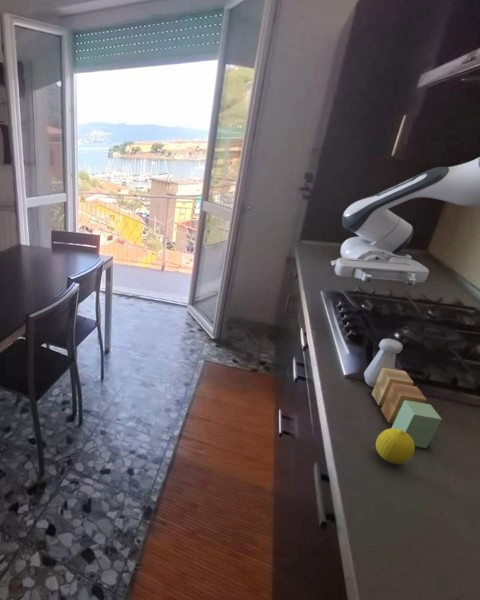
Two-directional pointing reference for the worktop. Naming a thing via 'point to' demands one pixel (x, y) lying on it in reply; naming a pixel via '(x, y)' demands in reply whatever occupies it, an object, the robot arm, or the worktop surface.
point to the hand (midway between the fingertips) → (389, 280)
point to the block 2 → (400, 399)
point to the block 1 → (389, 383)
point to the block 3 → (417, 422)
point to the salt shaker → (382, 360)
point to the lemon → (395, 446)
